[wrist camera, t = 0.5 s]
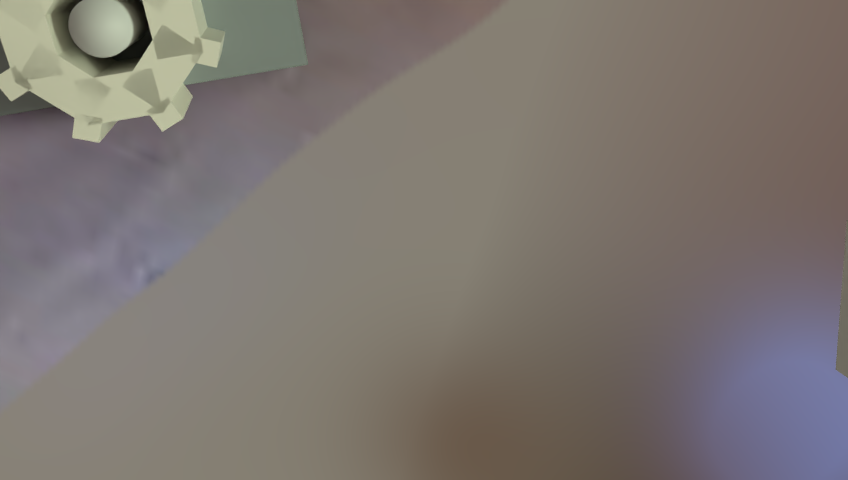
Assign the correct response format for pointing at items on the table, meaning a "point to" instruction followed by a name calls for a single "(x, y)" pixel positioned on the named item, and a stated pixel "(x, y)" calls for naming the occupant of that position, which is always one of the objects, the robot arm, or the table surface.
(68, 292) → the table surface
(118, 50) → the gear board
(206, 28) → the gear
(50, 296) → the table surface
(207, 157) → the table surface
